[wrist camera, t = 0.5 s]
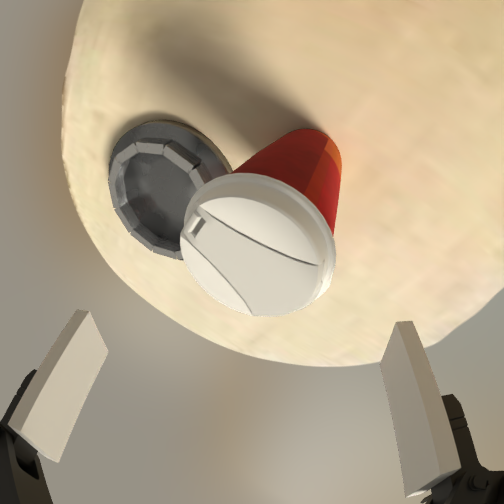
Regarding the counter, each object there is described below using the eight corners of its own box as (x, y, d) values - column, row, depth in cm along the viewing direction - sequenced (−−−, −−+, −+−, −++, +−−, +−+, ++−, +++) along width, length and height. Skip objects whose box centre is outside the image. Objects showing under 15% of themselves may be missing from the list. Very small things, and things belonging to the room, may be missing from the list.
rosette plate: (139, 91, 25) (120, 97, 23) (272, 185, 27) (263, 199, 25) (105, 200, 36) (91, 210, 34) (201, 276, 37) (190, 291, 35)
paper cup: (247, 163, 26) (152, 257, 16) (298, 96, 21) (215, 146, 11) (315, 219, 27) (266, 344, 17) (375, 161, 22) (372, 277, 11)
